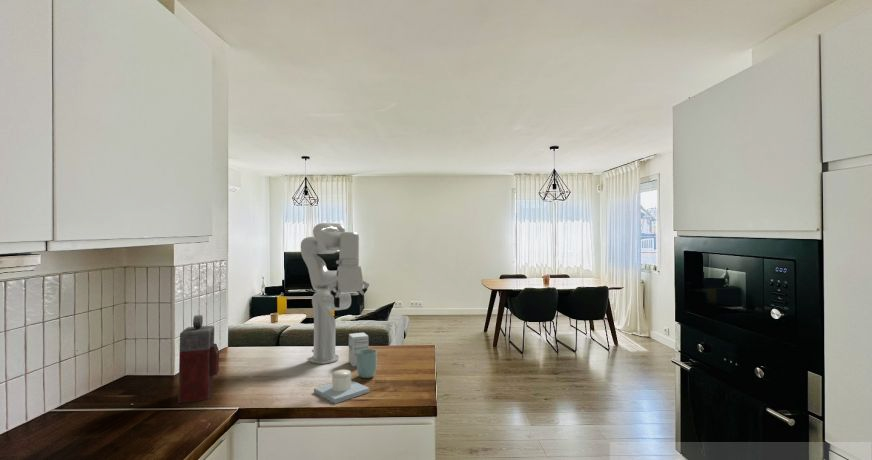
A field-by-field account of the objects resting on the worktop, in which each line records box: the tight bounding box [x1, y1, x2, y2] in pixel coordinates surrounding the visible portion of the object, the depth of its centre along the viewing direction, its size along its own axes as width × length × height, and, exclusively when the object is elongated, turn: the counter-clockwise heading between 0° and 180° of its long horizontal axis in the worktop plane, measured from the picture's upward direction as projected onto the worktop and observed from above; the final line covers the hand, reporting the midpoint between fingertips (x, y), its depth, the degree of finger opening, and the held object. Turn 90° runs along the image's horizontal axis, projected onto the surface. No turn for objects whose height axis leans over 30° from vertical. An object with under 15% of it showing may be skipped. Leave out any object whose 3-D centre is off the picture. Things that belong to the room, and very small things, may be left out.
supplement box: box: [348, 332, 369, 367], centre depth 175 cm, size 7×7×13 cm
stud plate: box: [313, 379, 370, 404], centre depth 141 cm, size 14×14×6 cm
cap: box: [331, 369, 352, 392], centre depth 141 cm, size 6×6×6 cm
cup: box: [356, 348, 378, 379], centre depth 157 cm, size 8×8×10 cm
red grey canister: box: [177, 314, 220, 404], centre depth 138 cm, size 9×11×28 cm
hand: (348, 306), depth 156 cm, fingers open, 9 cm apart
